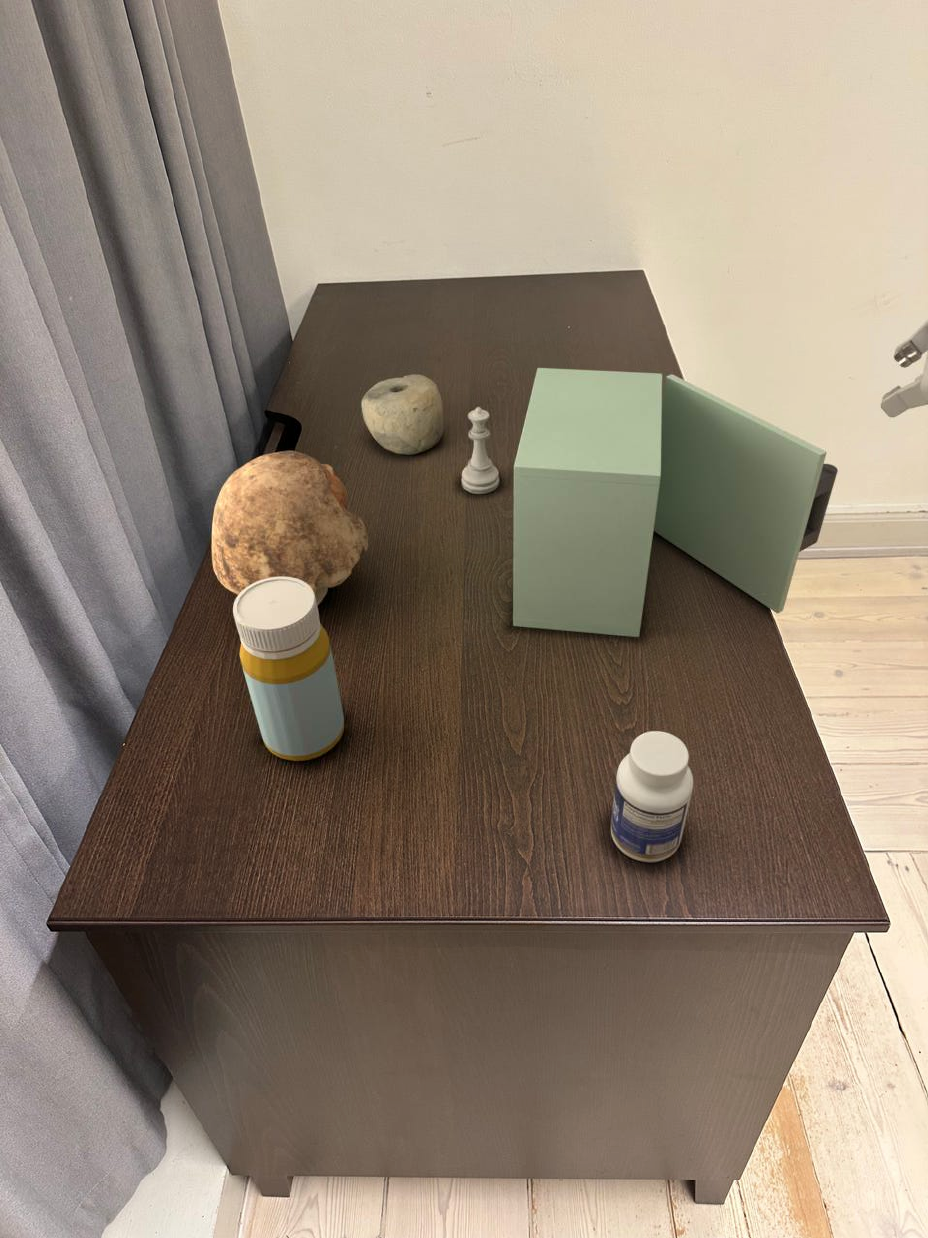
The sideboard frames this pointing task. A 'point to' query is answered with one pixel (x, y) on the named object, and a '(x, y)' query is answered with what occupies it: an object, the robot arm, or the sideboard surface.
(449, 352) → the sideboard surface
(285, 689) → the bottle
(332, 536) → the tan rounded lump
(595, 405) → the mini fridge
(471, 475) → the chess piece
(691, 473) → the fridge door
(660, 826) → the pill bottle
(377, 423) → the stone
